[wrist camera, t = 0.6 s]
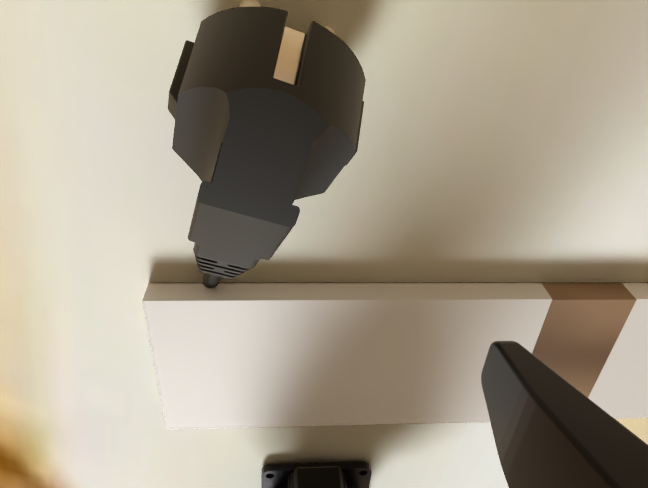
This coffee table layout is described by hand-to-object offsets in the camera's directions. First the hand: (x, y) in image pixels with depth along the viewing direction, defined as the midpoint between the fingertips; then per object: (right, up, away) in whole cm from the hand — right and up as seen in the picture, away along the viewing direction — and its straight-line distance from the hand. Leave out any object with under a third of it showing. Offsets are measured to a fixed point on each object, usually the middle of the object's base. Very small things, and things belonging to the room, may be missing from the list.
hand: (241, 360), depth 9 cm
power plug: (-2, +5, +11) cm, 12 cm away
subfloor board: (+7, -3, +17) cm, 19 cm away
